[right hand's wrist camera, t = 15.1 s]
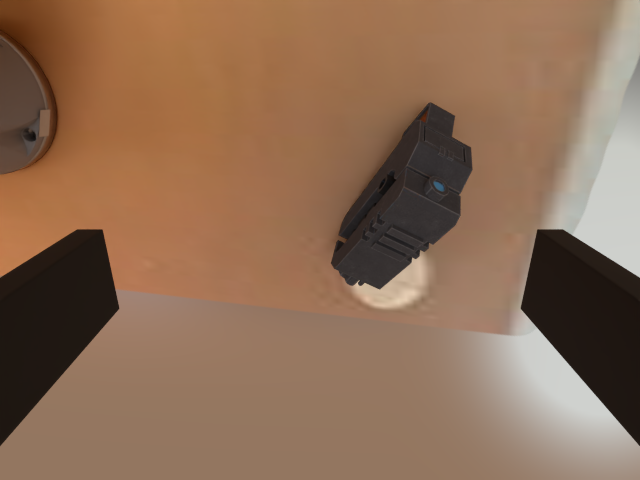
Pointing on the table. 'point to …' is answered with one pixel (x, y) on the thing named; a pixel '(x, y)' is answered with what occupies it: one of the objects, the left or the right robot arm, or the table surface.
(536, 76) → the table surface
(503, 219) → the table surface
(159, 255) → the table surface
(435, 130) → the tool
